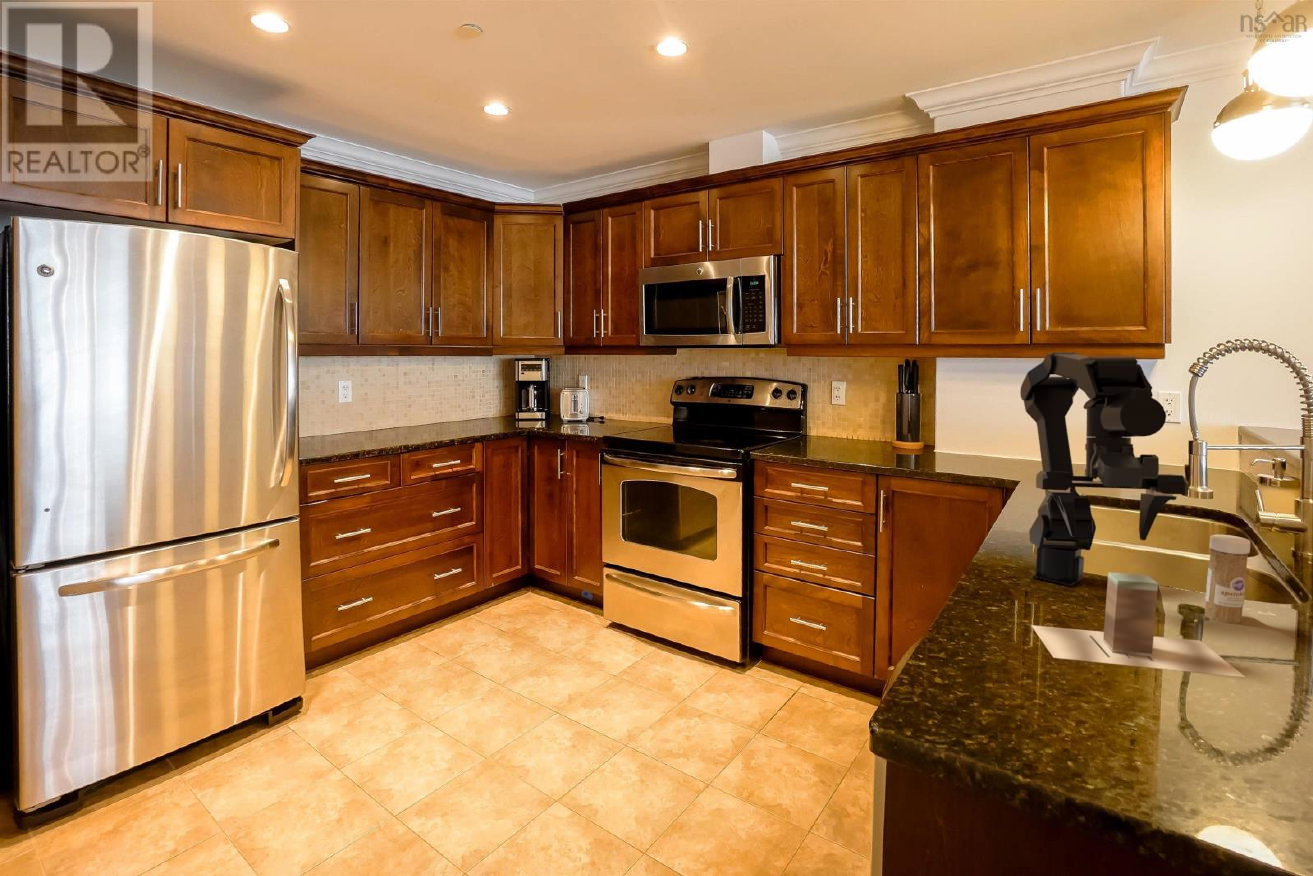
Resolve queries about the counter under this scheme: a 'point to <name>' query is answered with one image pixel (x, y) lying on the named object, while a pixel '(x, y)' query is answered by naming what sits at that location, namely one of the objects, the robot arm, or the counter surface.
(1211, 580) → the sprinkles bottle
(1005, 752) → the counter surface
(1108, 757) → the counter surface
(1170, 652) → the birch board
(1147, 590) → the block
